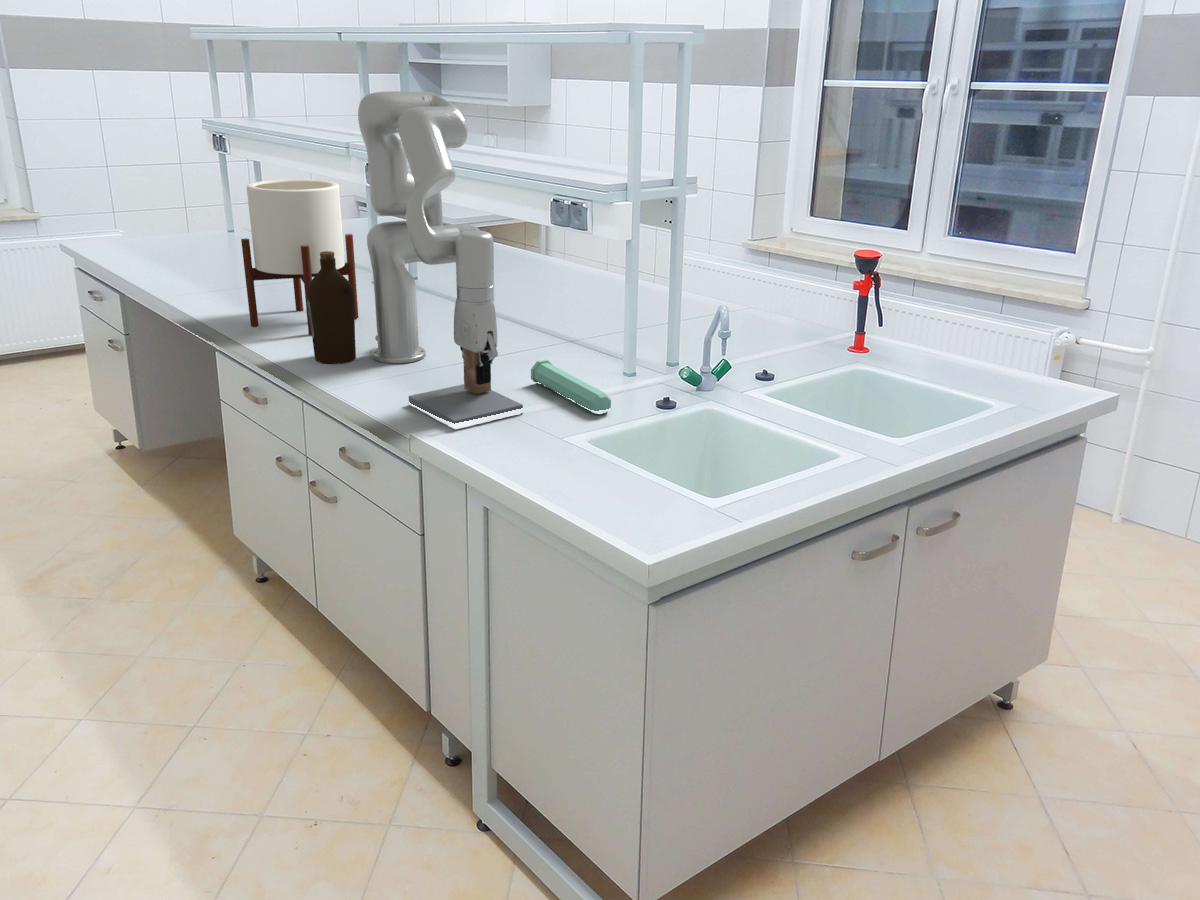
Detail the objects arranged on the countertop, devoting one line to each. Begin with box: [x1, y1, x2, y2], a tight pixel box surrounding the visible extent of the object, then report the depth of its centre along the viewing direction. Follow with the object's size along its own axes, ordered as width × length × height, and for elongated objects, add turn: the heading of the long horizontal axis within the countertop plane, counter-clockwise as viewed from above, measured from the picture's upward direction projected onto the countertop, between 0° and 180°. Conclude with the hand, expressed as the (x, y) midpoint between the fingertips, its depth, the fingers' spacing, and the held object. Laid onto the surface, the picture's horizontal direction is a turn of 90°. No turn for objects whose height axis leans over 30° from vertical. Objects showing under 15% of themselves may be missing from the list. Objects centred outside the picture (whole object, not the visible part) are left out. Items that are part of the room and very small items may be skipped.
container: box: [530, 359, 612, 411], centre depth 207 cm, size 6×6×25 cm
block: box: [462, 347, 492, 394], centre depth 202 cm, size 4×4×10 cm
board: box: [408, 383, 524, 424], centre depth 200 cm, size 18×16×2 cm
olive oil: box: [307, 251, 357, 365], centre depth 226 cm, size 11×11×25 cm
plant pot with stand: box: [240, 178, 359, 337], centre depth 253 cm, size 22×22×36 cm
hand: (477, 379), depth 203 cm, fingers closed on block, 4 cm apart
